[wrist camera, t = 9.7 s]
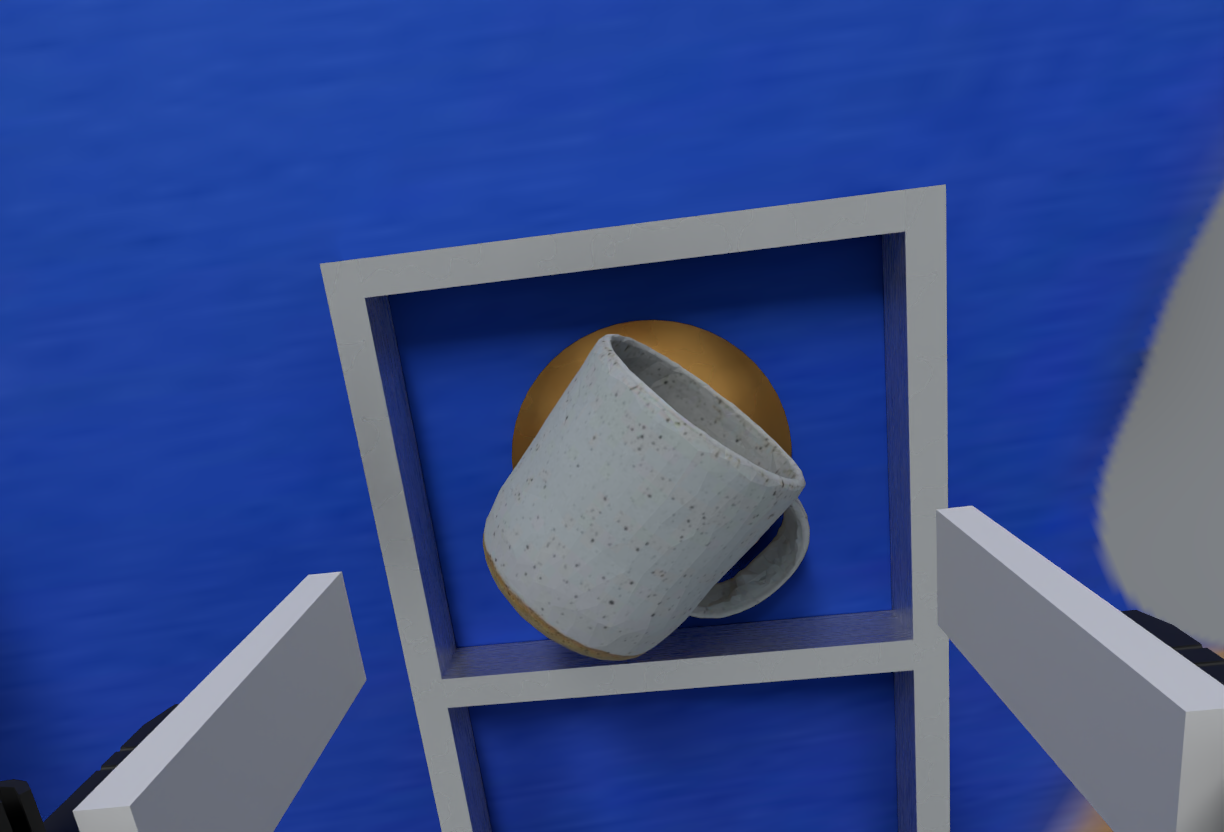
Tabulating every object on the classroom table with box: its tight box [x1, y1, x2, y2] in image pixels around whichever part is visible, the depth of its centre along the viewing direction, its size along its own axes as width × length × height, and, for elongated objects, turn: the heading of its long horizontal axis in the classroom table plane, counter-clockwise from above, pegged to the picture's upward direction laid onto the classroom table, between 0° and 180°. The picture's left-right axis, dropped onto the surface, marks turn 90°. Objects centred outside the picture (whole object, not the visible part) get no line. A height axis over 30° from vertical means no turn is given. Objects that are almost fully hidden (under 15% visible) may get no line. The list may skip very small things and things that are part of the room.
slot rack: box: [320, 185, 950, 832], centre depth 25 cm, size 19×31×2 cm, turn 7°
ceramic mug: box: [483, 334, 809, 661], centre depth 21 cm, size 10×8×7 cm
